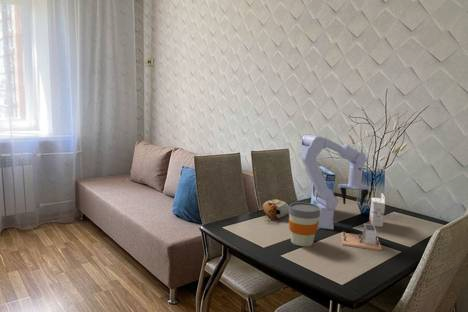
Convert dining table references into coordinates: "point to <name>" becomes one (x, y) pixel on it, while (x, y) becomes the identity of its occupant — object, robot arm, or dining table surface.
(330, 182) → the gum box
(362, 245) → the wooden peg board
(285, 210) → the nautilus
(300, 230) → the reusable coffee cup
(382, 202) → the ink cartridge box
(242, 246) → the dining table surface
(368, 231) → the drive
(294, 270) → the dining table surface
